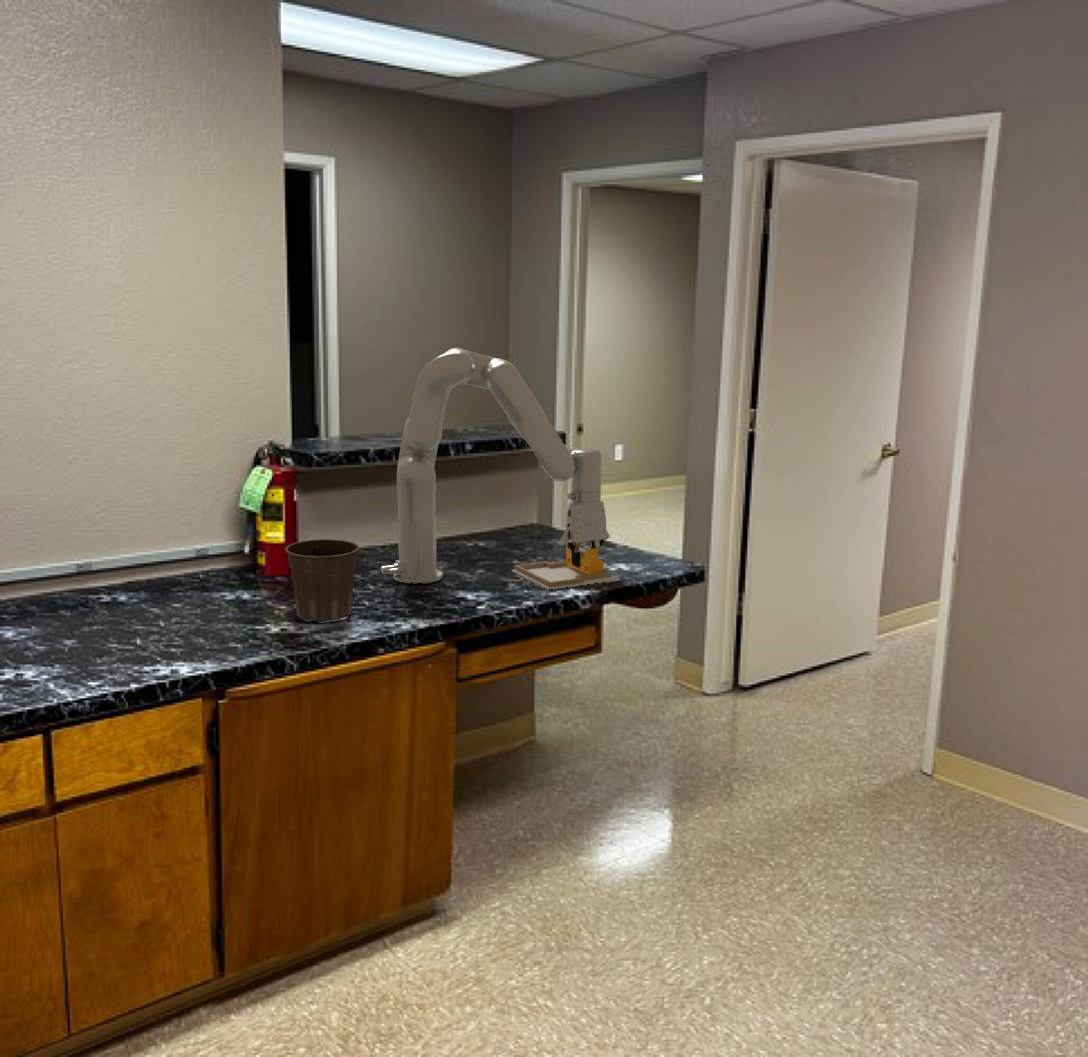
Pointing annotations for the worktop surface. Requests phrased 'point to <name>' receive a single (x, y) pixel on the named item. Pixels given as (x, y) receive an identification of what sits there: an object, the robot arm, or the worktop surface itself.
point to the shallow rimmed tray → (560, 575)
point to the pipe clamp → (586, 561)
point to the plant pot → (323, 577)
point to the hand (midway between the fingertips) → (584, 564)
